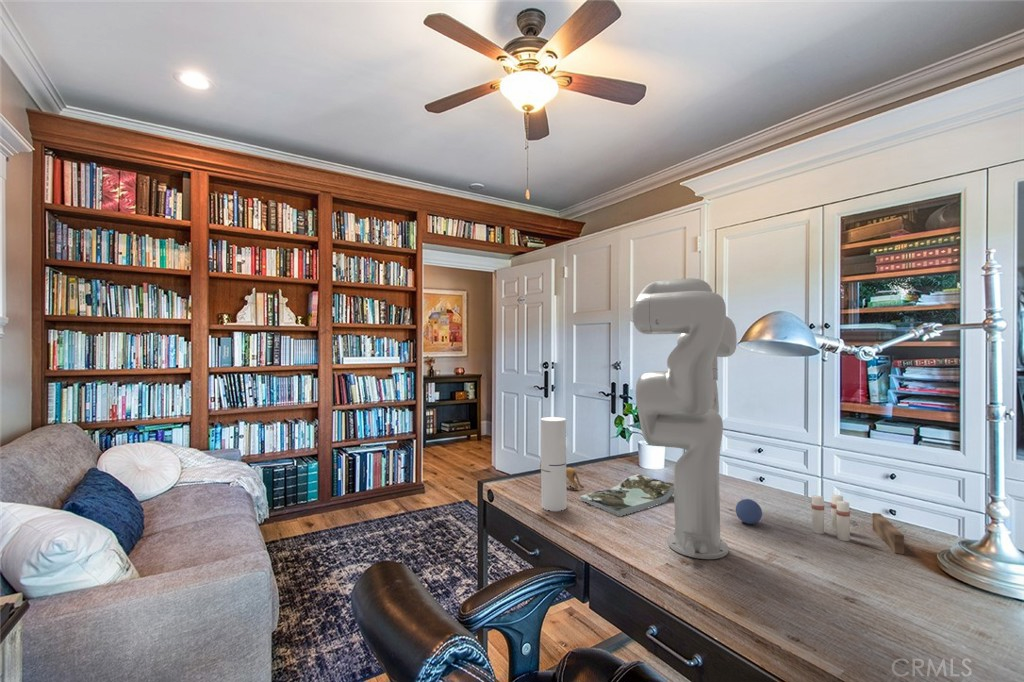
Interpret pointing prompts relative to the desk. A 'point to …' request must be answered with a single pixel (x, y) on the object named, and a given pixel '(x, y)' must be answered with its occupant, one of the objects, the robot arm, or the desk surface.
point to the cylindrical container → (553, 463)
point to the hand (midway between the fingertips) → (704, 435)
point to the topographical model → (631, 495)
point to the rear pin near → (843, 521)
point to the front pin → (817, 514)
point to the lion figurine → (571, 477)
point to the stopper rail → (888, 533)
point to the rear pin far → (834, 510)
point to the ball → (748, 511)
